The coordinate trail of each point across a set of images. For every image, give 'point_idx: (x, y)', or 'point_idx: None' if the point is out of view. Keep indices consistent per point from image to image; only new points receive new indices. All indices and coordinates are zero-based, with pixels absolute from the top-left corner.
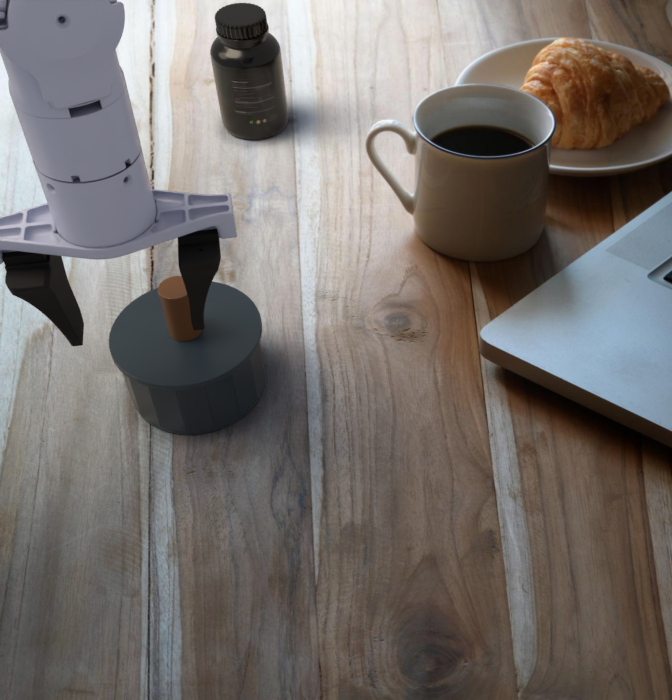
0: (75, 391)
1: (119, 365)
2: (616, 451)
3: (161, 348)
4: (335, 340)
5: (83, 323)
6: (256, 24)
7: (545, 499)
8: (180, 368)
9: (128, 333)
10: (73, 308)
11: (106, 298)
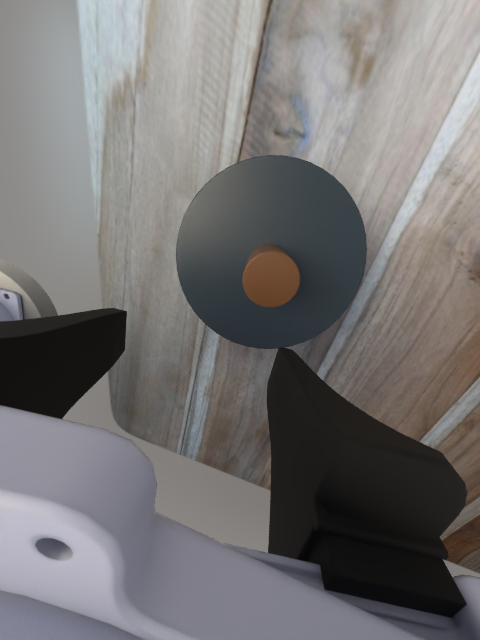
0: (155, 212)
1: (183, 291)
2: None
3: (233, 283)
4: (414, 251)
5: (125, 313)
6: None
7: (445, 456)
8: (245, 322)
9: (201, 241)
10: (95, 346)
11: (200, 48)
